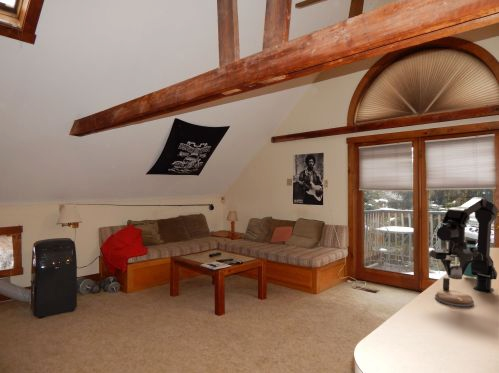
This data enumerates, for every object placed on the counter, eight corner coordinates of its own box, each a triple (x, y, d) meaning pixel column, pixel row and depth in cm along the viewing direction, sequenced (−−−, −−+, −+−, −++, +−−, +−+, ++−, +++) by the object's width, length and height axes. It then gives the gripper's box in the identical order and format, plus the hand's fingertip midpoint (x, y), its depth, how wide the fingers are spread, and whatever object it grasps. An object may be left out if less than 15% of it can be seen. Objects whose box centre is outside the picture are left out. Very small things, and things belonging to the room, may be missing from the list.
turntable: (429, 290, 152) (429, 277, 152) (459, 291, 151) (460, 278, 151) (445, 303, 137) (446, 288, 137) (479, 304, 136) (480, 289, 136)
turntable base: (441, 292, 153) (441, 290, 153) (478, 301, 143) (478, 299, 143) (430, 300, 144) (430, 297, 144) (468, 310, 134) (468, 308, 134)
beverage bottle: (480, 280, 171) (481, 241, 170) (465, 279, 172) (467, 240, 171) (474, 276, 177) (475, 238, 176) (460, 275, 179) (461, 238, 178)
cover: (450, 275, 147) (450, 263, 146) (463, 277, 143) (464, 265, 143) (446, 277, 143) (446, 265, 143) (459, 280, 140) (460, 268, 139)
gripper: (443, 241, 135) (442, 280, 135) (492, 242, 134) (490, 282, 135) (430, 236, 146) (428, 272, 147) (474, 237, 145) (473, 273, 146)
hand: (455, 275), depth 143 cm, fingers closed on cover, 5 cm apart
